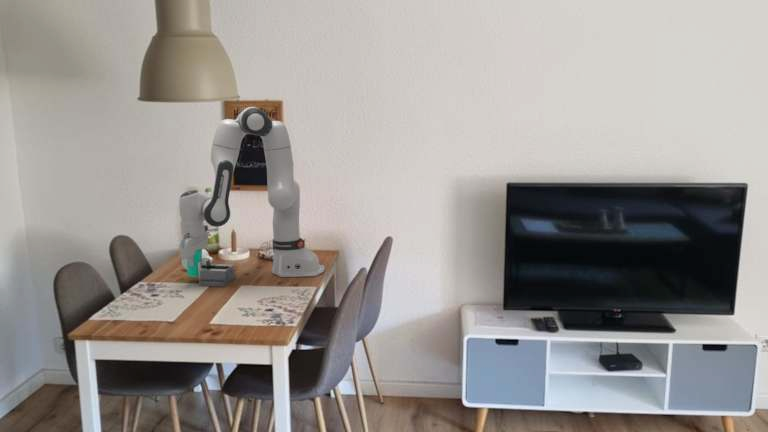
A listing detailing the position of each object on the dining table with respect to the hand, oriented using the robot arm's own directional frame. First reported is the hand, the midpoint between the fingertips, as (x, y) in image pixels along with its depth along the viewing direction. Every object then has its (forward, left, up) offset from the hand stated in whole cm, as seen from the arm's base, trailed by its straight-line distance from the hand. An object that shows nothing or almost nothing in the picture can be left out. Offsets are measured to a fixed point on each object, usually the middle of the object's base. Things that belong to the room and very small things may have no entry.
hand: (195, 263), depth 306 cm
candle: (+1, 0, -5) cm, 5 cm away
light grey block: (-7, 0, -6) cm, 9 cm away
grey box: (-9, 0, -8) cm, 11 cm away
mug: (+6, -18, -8) cm, 21 cm away
